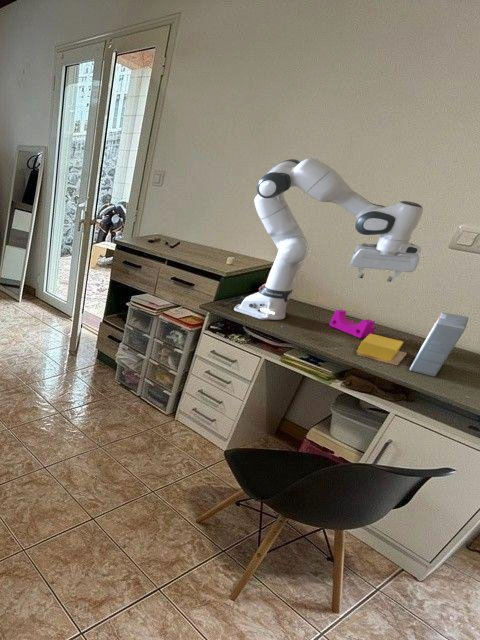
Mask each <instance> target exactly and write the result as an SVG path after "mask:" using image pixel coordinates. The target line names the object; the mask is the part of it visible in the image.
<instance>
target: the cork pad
mask: <svg viewBox="0 0 480 640" xmlns="http://www.w3.org/2000/svg"><path fill="white" fill-rule="evenodd" d="M407 354H408V352H406V351H405V352H404V351H400V350H399V351H398V353H397V354H396V355H395V356H394V357H393V359H392V360H391V361H387V360H384V359H380V358H376V357H373V356H369V355H365V354H362V353H358V352H356V354H355V355H356V356H360V357H364V358H367V359H370V360H374V361H378V362H381V363H385V364H389V365H393V366H396V367H397V366H398V365H399V364H400V363H401V362H402V360H404V358H405V357H406V356H407Z"/></svg>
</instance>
